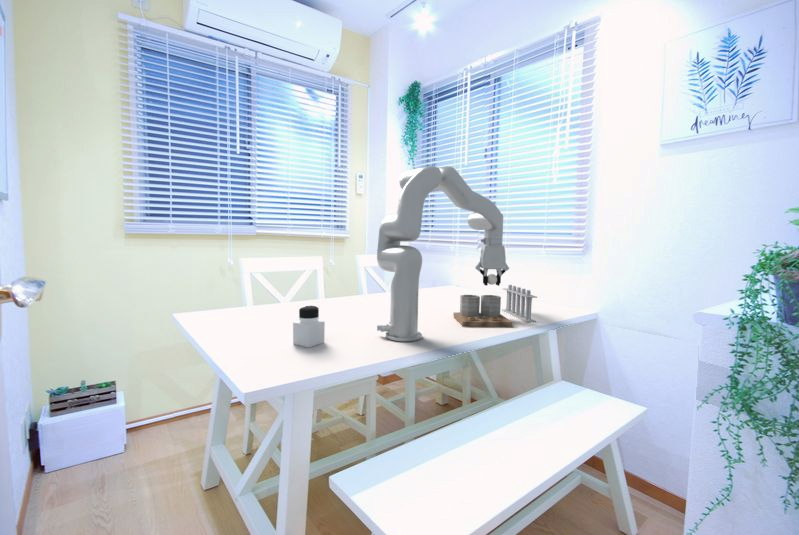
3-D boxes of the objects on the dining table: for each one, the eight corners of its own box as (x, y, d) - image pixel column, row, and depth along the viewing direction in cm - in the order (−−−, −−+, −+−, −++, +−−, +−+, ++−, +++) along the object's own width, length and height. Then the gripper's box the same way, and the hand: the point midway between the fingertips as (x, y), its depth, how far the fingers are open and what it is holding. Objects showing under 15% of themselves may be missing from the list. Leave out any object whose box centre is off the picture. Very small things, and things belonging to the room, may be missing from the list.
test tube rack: (501, 311, 181) (502, 283, 180) (510, 311, 182) (511, 283, 180) (526, 323, 156) (527, 291, 155) (536, 322, 157) (537, 291, 156)
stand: (462, 326, 147) (463, 301, 146) (453, 316, 165) (454, 294, 164) (512, 327, 148) (513, 302, 147) (498, 317, 166) (499, 294, 165)
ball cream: (487, 285, 158) (488, 274, 157) (484, 283, 162) (485, 273, 162) (498, 285, 158) (498, 274, 157) (495, 283, 162) (495, 273, 162)
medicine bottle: (324, 342, 122) (325, 306, 121) (309, 348, 116) (309, 309, 115) (308, 339, 125) (308, 303, 124) (292, 344, 119) (292, 306, 118)
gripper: (475, 242, 154) (474, 286, 156) (516, 242, 155) (514, 286, 157) (471, 241, 162) (469, 283, 163) (509, 242, 163) (508, 284, 164)
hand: (491, 284), depth 160 cm, fingers closed on ball cream, 4 cm apart
